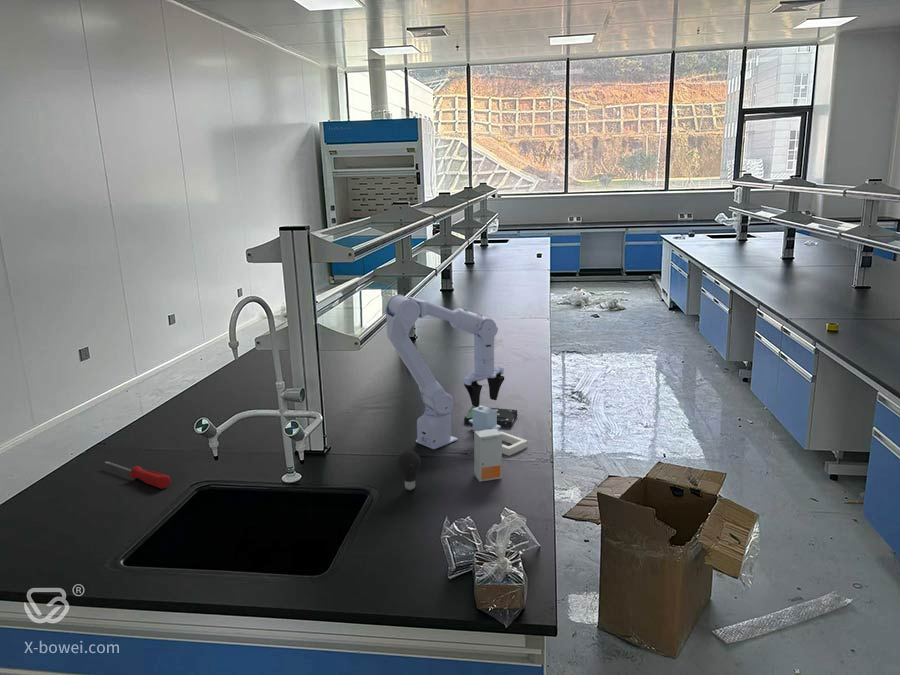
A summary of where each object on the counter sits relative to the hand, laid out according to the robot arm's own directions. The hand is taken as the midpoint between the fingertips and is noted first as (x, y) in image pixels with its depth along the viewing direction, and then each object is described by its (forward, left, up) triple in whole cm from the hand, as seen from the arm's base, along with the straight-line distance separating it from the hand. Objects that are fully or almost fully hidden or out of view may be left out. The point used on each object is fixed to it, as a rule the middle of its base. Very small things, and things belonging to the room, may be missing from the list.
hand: (484, 402), depth 186 cm
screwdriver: (-84, +44, -9) cm, 95 cm away
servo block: (0, 0, -9) cm, 9 cm away
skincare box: (-21, -21, -9) cm, 31 cm away
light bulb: (-39, -12, -9) cm, 42 cm away
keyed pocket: (-4, -11, -9) cm, 15 cm away
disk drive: (+8, +5, -10) cm, 14 cm away
